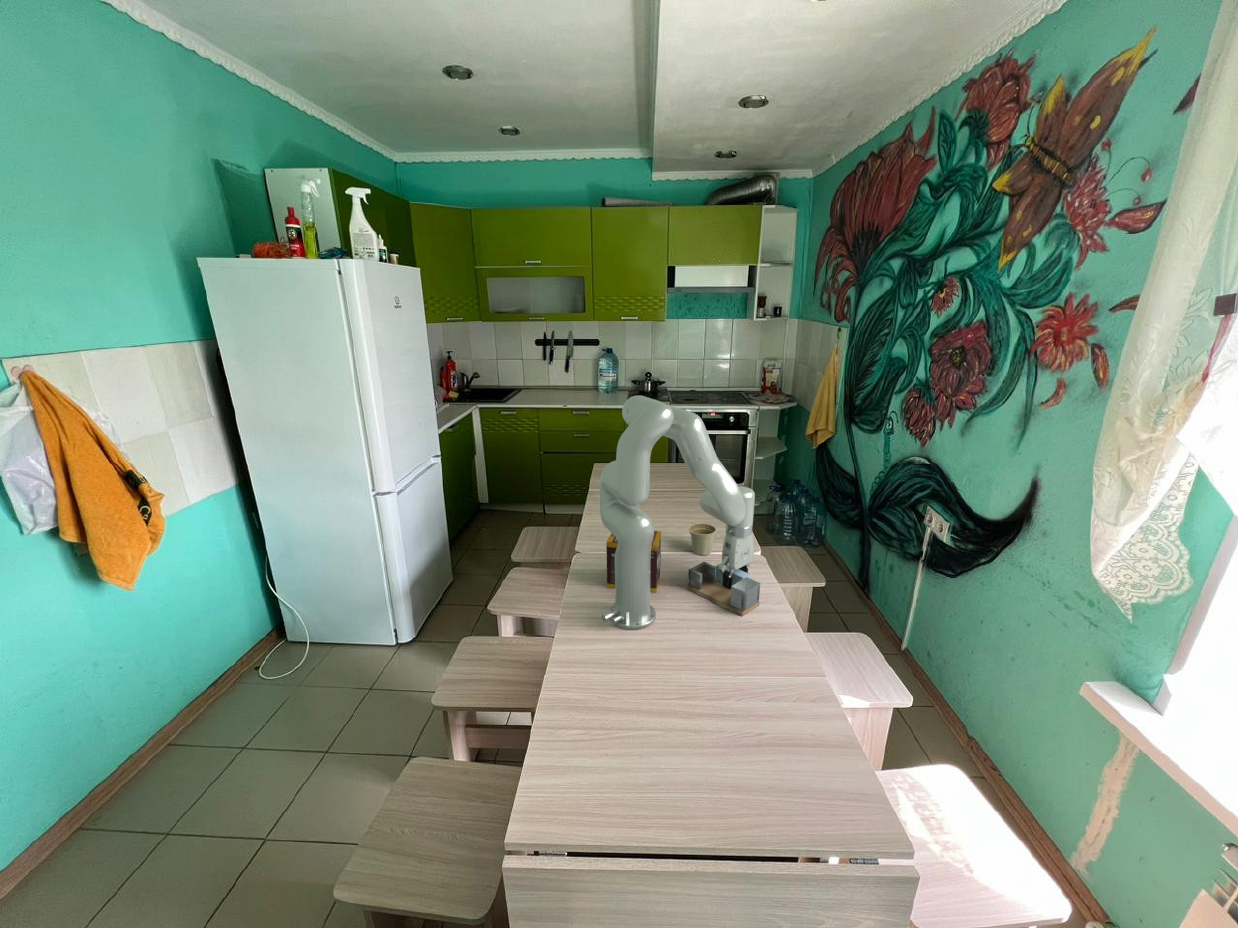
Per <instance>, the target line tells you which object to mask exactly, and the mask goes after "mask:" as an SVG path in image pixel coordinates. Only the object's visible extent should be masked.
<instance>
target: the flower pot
mask: <svg viewBox="0 0 1238 928" xmlns="http://www.w3.org/2000/svg"><path fill="white" fill-rule="evenodd" d="M688 531H689V534H690V536H691V537H690V538H691V545H692V552H693V553H694V554H695V555H698V556H708V555H710V554H711V553H712V548H713V543H714V537H715V535H716V533H717V528H716V526H714V525H713V524H710V523H702V522H700V523H699V522H697V523H694V524H691V525H689V526H688Z"/></svg>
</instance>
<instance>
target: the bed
mask: <svg viewBox="0 0 1238 928" xmlns="http://www.w3.org/2000/svg"><path fill="white" fill-rule="evenodd" d="M687 576H688V579H687V584H686V588H687V590H689V591H691V592H693V593H695V594H697V595H699V596H701V597H704V598H705V599H707V600H709V601H711V602H713V603H715V604H717V605H719V606H721V607H723V608H725V609H727V610H729V611H730V612H733V613H735V614H737V615H738V616H741V617H744V616H745V615H748V614H749V613H750V612H752V611H753V610H755V609H757V607H759V606H760V601H759V602H757V603H756V604H754V605H752V606H751V607H749V608H748V609H746V610H745V611H742V610H740V609H738V608H736V607H734V606H732V605H730V600H731V589H729V588H727V587H725V586H723V585H722V583H721V582H719V581H717V580H715V577H716V565H715V566H714V565H712V564H711V563H708V562H706V561H702V562H701V563H699V564H695V566H693V567H691V568H689V569H688V574H687Z"/></svg>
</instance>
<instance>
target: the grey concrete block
mask: <svg viewBox="0 0 1238 928" xmlns="http://www.w3.org/2000/svg"><path fill="white" fill-rule="evenodd" d="M760 590H761V582H758V581H757V580H755V579H752V578H751V577H749V578H747V577H746V578H744V579H743V580H741V581H739V582H738V583H736V584H734V585H733V586H731V600H730V605H732V606H734V607H736V608H738V609H740V610H742V611H745V610H746V609H748V608H749V607H751V606H752V605H754V604H756V603H757V602H759V603H760V594H761V593H760V592H761V591H760Z"/></svg>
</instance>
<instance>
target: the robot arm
mask: <svg viewBox="0 0 1238 928" xmlns="http://www.w3.org/2000/svg"><path fill="white" fill-rule="evenodd" d="M621 414H622V417H623V420H624V422H625V423H626V424H627V425H628V426H627V428H626V429H625V430H624V431H623V433H622V434H621V436H620V438H619V439H618V442H617V446H616V456H615V457H616V458H615V460H613V461H610V462H609V463H607V464H606V465H605V467H604V468H603V470H602V472H601V474H600V478H599V506H600V507H599V508H600V509H599V513H600V518H601V522H602V524H603V526H604V527H605V528H606V529H607V530H608V531H609V532H610V534H611V533H613V534H614V536H616V537H617V539H618V546H617V549H616V552H615V589H614V594H615V596H614V597H615V599H614V600H615V601H614V603H613V604H612V607H611V609H610V611H609V612H606V613H604V614H602V615H601V619H602V622H605V623H606V622H608V621H610V620H611V622H612V623H613V624H614V625H616V627H619V628H622V629H625V630H639V629H644V628H647V627H649V626H651V625H652V624H653V623H654V622H655V620H656V617H657V616H656V615H657V613H656V610H655V608H654V607H653V606H652V605H651V592H650V558H651V546H652V541H653V536H654V531H655V527H654V523H653V521H652V519H651V517H650V516H649V515H648V514H647V513H646V512H644V511H643V510H642V509H641V508H639V506H642V505H644V504H645V502H646V501H647V500H648V498H649V496H650V490H651V489H650V487H651V482H650V481H651V477H650V476H651V455H652V450H653V448H654V446H655V444H656V443H657V442H658V441H659V440H660V438H661V437H666V438H669V439H671V440H673V441H674V442H675V443H676V446H677V448H678V450H679V452H680V455H681V457H682V459H683V461H684V464H685V466H686V469H687V470H688V472H689V473H690V475H691V476H692V477H693V478H694V479H695V480H696V481H697V482H698V483H699V484H701V485H702V486H703V487H704V489H706V491H704V492H703V493H702V494H701V496H700V498H699V505H700V507H701V509H702V511H704V512H705V513H706V514H708V515H709V516H711V517H713V518H715V519H717V520H718V521H720V522H721V523H723V524H725V536H724V539H723V544H722V552H721V562H720V563H721V564H720V563H719V564H720V565H719V567H718V569H719V570H720V571H721V573H722V574H723V583H721V584H722V585H723V586H725V587H727V588H729V589H731V586H732V585H733V577H732V574H733V571H734V570H737V569H739V570H742V571H744V572H746V573H748V574H749V568H750V563H751V562H752V561H753V559H754V551H755V550H754V548H755V546H754V544H755V543H754V542H755V541H754V532H753V525H754V523H753V522H754V512H755V499H756V497H755V496H756V493H755V491H754V490H753V489H752V488H750V487H747V486H739V485H738V484H737V482H736V481H735V479H734V478H733V476H732V475H731V474H730V473H729V471H728V470H727V469H726V467H725V466H724V465H723V463H722V462H721V461H720V459H719V457H718V456H717V454H716V451H715V449H714V446H713V443H712V440H711V439H710V436H709V433H708V431H707V428H706V425H705V423H704V422H703V419H702V418H701V417H700V416H699V415H698V414H696V413H695V412H692V411H688V410H686V409H682V408H679V407H676V406H673V405H669V404H666V403H665V402H662V401H660V400H657V399H653V398H650V397H648V396H644V395H633V396H631V397H629V398H628V399H627V400H626V401H624V403H623V406H622V411H621ZM729 565H730V566H729ZM727 568H730V571H729V572H728V571H727Z"/></svg>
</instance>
